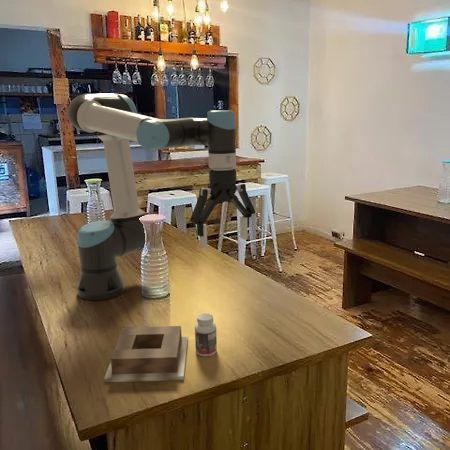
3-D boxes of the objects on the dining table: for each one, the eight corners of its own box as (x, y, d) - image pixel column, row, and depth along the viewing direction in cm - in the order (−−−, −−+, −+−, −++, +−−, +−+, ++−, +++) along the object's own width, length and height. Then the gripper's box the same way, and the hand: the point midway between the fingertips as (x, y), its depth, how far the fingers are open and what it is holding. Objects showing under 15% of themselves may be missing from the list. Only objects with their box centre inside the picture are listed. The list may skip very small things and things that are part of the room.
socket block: (104, 382, 103) (102, 362, 102) (120, 341, 120) (118, 324, 119) (183, 380, 103) (182, 360, 102) (187, 340, 121) (187, 323, 119)
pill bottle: (191, 352, 115) (189, 317, 112) (205, 343, 119) (204, 309, 116) (206, 359, 111) (205, 323, 109) (221, 350, 115) (220, 315, 113)
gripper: (188, 174, 114) (192, 254, 120) (267, 165, 127) (267, 238, 132) (175, 171, 120) (179, 247, 126) (251, 163, 133) (251, 232, 139)
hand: (224, 242), depth 129 cm, fingers open, 13 cm apart
